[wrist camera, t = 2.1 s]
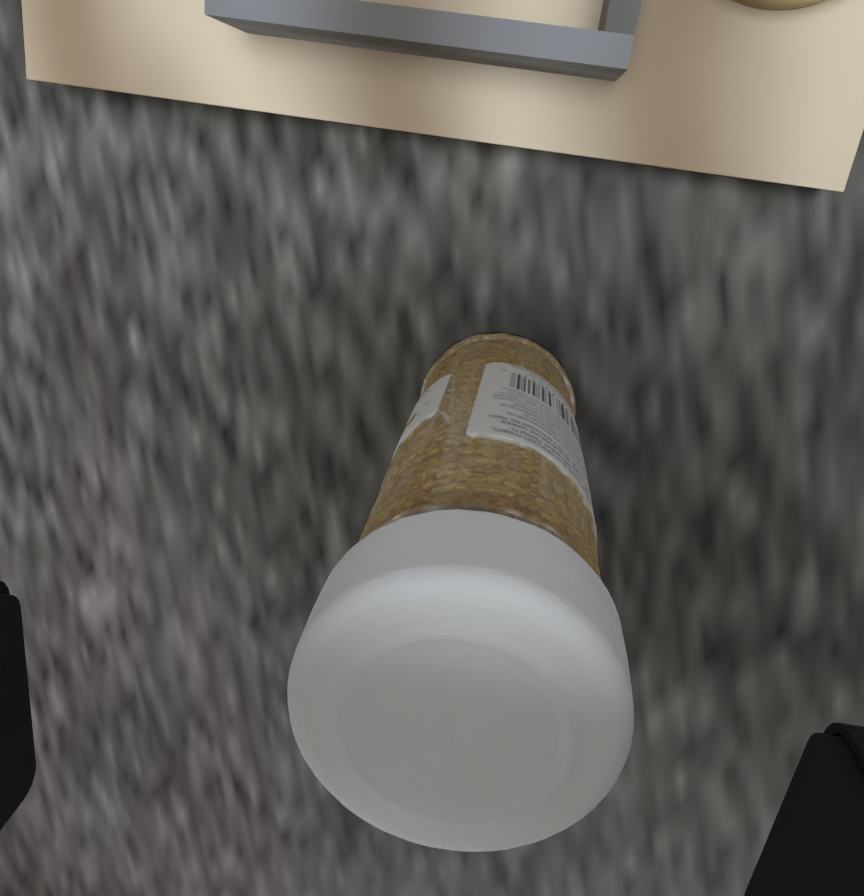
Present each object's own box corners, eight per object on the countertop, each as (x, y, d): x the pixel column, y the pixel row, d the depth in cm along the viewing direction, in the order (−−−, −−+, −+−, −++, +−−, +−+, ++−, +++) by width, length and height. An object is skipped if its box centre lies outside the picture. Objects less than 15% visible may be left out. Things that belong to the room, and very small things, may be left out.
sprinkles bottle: (393, 371, 22) (209, 652, 9) (536, 301, 21) (542, 518, 8) (464, 501, 23) (384, 902, 11) (603, 442, 22) (697, 818, 9)
